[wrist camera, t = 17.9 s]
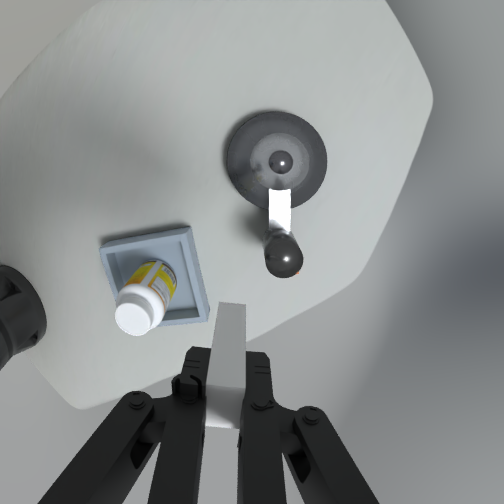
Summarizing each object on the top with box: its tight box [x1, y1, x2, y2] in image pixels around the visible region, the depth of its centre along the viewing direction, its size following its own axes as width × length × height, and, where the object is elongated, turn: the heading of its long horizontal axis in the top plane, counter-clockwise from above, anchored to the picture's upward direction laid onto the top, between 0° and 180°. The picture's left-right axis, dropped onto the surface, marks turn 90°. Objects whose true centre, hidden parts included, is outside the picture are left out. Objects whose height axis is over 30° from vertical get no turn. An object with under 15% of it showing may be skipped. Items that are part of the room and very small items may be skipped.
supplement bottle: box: [115, 260, 177, 336], centre depth 33 cm, size 6×6×10 cm
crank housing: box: [227, 112, 327, 209], centre depth 33 cm, size 11×11×2 cm
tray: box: [99, 227, 210, 327], centre depth 37 cm, size 12×12×3 cm
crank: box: [250, 133, 309, 278], centre depth 30 cm, size 14×6×6 cm, turn 1°
